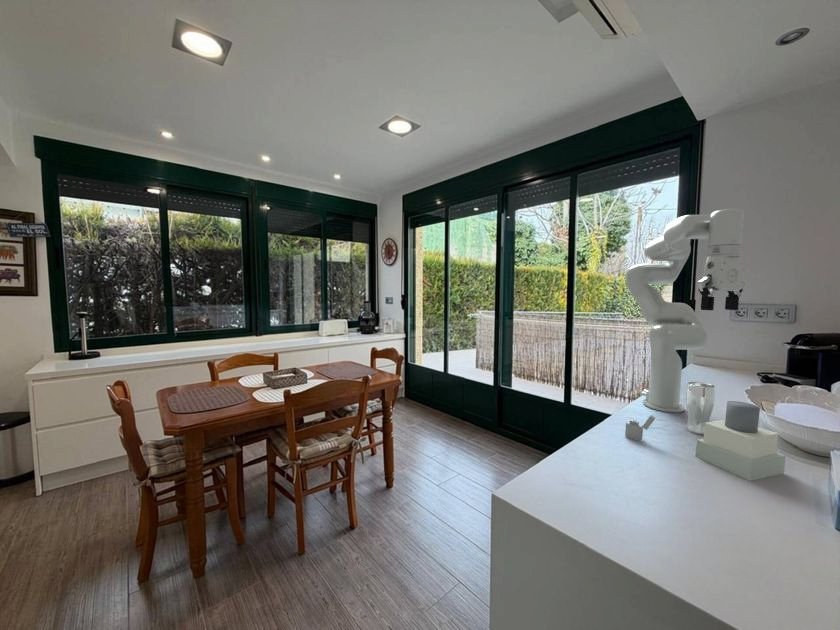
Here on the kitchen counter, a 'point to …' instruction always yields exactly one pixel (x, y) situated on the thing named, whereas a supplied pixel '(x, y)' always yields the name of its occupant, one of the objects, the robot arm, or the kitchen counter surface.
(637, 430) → the lighter
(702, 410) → the beer glass
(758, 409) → the cylinder
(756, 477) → the tower bottom block
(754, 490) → the kitchen counter surface
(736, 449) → the tower top block
